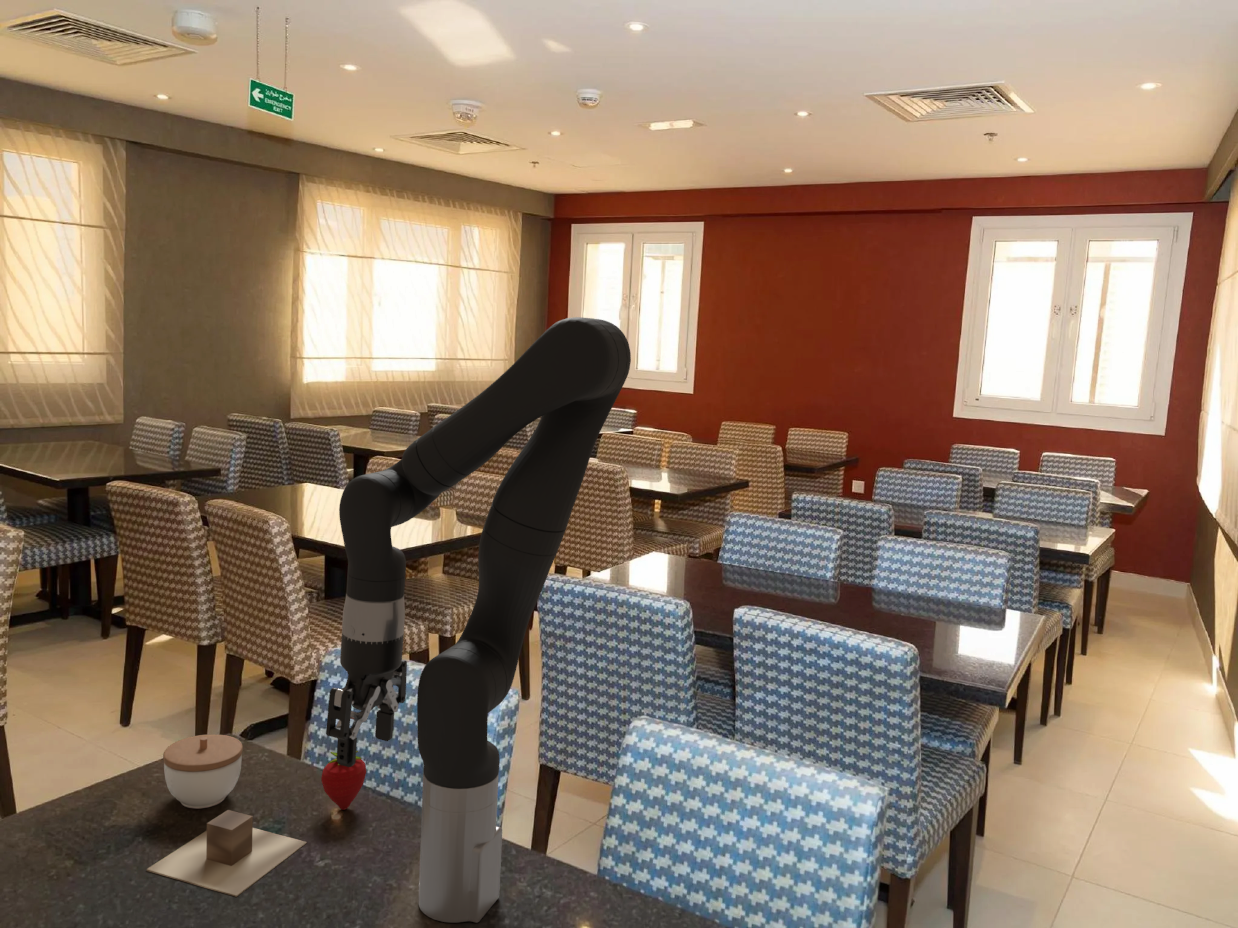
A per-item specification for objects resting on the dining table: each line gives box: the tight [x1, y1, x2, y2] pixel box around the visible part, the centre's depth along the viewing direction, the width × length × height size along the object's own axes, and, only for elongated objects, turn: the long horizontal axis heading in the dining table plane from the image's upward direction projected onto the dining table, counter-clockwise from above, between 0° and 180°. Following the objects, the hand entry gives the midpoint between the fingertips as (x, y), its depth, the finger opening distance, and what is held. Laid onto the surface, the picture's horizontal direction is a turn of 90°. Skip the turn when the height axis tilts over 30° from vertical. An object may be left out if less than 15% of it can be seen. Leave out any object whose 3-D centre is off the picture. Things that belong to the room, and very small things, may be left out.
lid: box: [146, 809, 308, 898], centre depth 129 cm, size 14×14×6 cm
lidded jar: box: [162, 734, 244, 809], centre depth 143 cm, size 11×11×9 cm
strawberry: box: [320, 750, 367, 810], centre depth 142 cm, size 6×8×10 cm
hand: (365, 751), depth 124 cm, fingers open, 8 cm apart
